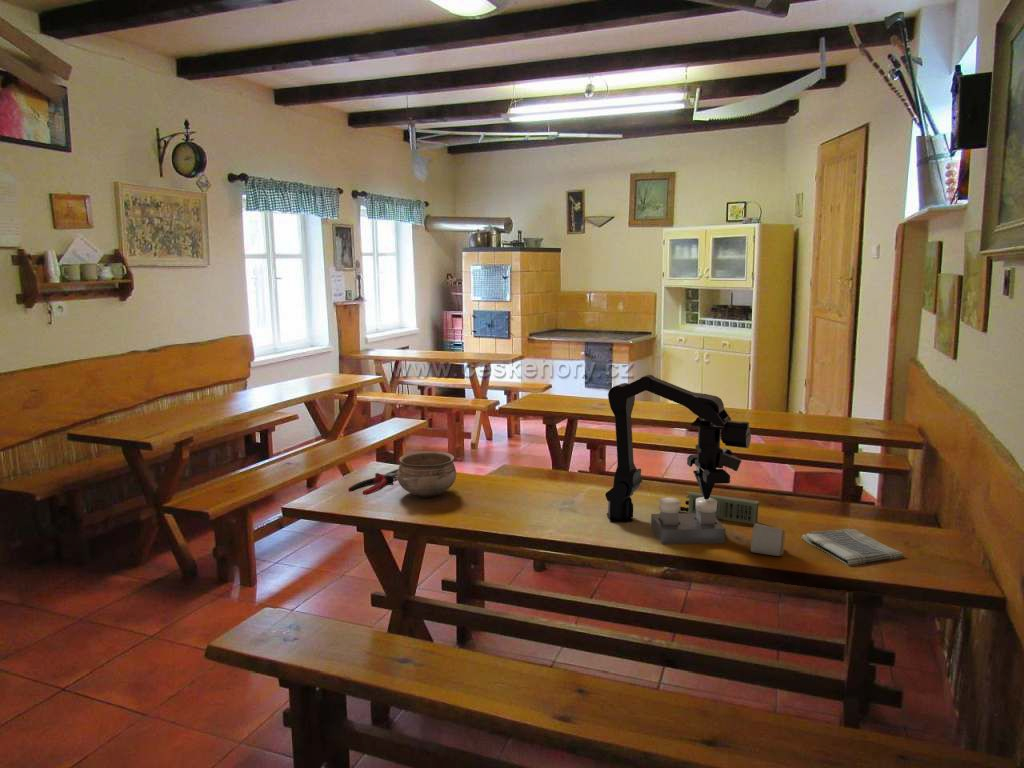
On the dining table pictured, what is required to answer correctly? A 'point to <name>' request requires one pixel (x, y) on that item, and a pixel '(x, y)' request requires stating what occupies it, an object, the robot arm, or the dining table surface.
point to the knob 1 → (669, 511)
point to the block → (767, 540)
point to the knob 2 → (705, 510)
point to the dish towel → (851, 546)
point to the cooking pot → (426, 473)
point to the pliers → (378, 478)
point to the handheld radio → (727, 508)
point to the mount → (687, 530)
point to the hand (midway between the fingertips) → (706, 499)
